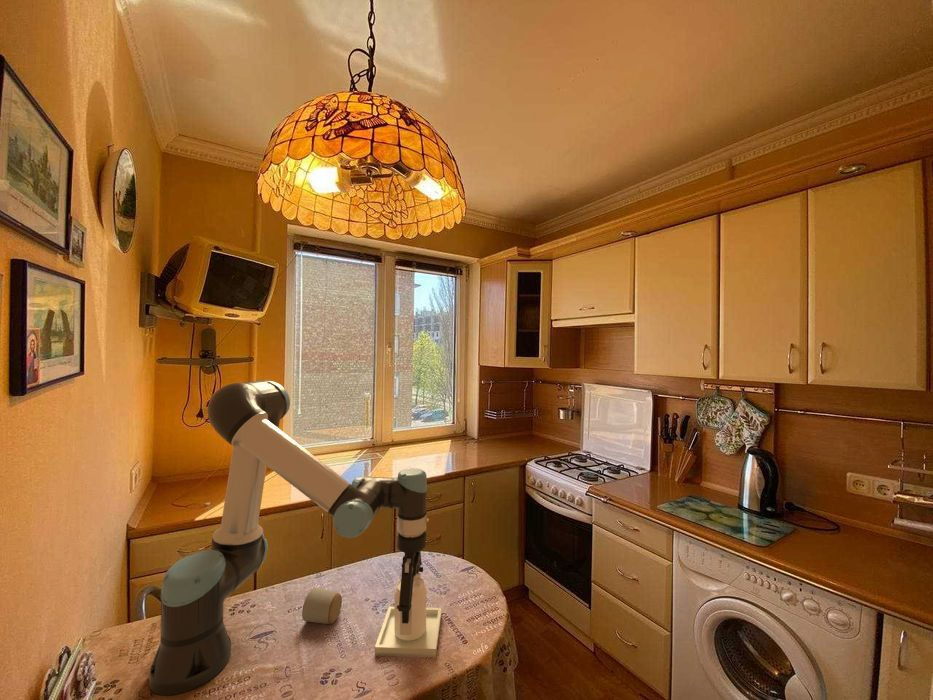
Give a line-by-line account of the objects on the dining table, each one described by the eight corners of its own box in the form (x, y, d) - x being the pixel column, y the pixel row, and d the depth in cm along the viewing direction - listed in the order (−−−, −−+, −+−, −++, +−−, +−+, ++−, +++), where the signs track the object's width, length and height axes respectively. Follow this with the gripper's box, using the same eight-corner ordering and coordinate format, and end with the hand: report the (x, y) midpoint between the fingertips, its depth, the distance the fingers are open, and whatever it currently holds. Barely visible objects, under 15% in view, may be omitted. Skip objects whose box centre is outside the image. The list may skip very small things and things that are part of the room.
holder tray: (374, 655, 90) (374, 647, 90) (388, 613, 104) (389, 606, 104) (435, 657, 89) (435, 648, 89) (441, 615, 104) (441, 608, 104)
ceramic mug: (330, 631, 97) (331, 600, 98) (300, 627, 98) (301, 597, 99) (348, 605, 108) (349, 578, 108) (321, 602, 109) (322, 575, 109)
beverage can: (390, 626, 98) (390, 580, 99) (420, 616, 102) (419, 571, 102) (399, 647, 91) (399, 597, 92) (431, 636, 95) (430, 587, 95)
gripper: (419, 557, 85) (417, 652, 84) (432, 511, 110) (431, 585, 109) (385, 556, 85) (384, 651, 84) (406, 511, 110) (405, 584, 109)
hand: (410, 614), depth 97 cm, fingers open, 13 cm apart
